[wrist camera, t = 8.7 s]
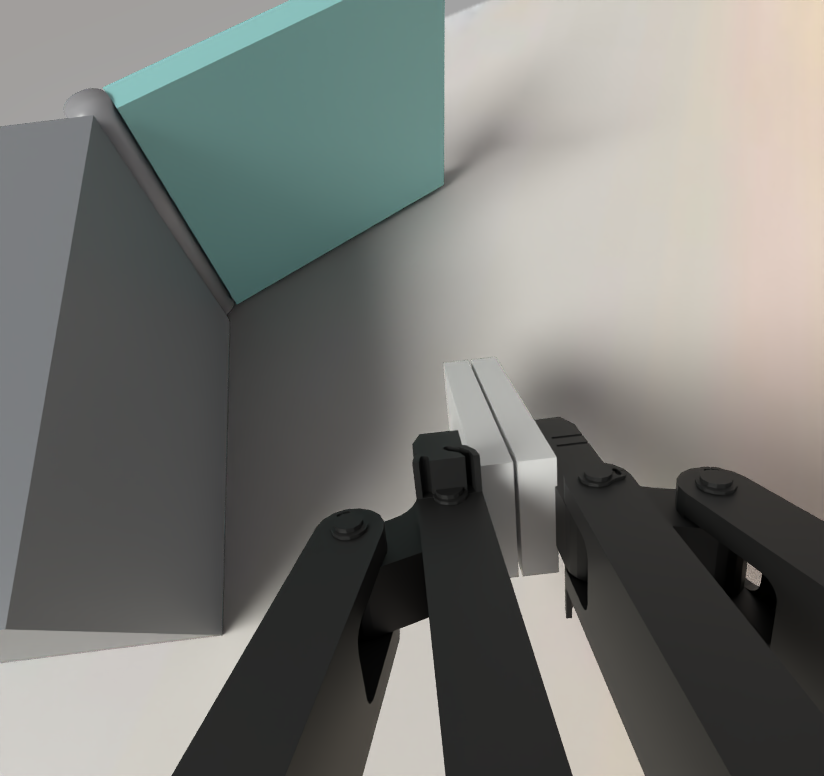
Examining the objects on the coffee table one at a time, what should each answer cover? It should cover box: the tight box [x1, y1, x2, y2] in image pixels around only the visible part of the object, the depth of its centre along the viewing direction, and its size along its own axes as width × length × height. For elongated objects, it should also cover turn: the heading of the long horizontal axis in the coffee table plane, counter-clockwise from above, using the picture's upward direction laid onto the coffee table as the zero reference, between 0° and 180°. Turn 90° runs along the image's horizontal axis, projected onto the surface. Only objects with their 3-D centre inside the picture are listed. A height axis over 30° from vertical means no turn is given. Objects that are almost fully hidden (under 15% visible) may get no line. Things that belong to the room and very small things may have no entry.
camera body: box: [0, 115, 230, 663], centre depth 16 cm, size 9×14×11 cm, turn 6°
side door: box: [63, 0, 445, 315], centre depth 20 cm, size 12×2×10 cm, turn 125°
